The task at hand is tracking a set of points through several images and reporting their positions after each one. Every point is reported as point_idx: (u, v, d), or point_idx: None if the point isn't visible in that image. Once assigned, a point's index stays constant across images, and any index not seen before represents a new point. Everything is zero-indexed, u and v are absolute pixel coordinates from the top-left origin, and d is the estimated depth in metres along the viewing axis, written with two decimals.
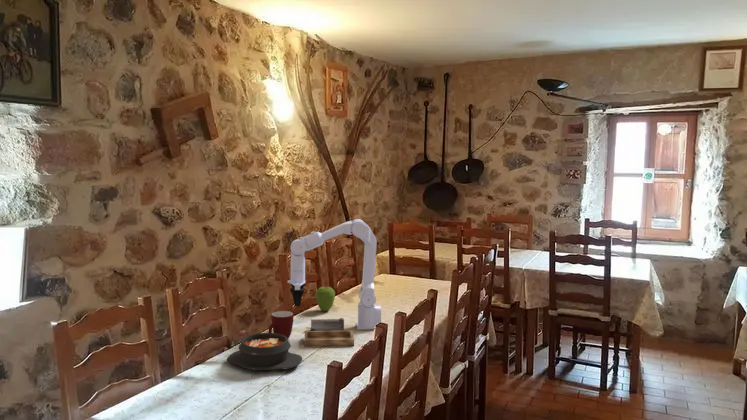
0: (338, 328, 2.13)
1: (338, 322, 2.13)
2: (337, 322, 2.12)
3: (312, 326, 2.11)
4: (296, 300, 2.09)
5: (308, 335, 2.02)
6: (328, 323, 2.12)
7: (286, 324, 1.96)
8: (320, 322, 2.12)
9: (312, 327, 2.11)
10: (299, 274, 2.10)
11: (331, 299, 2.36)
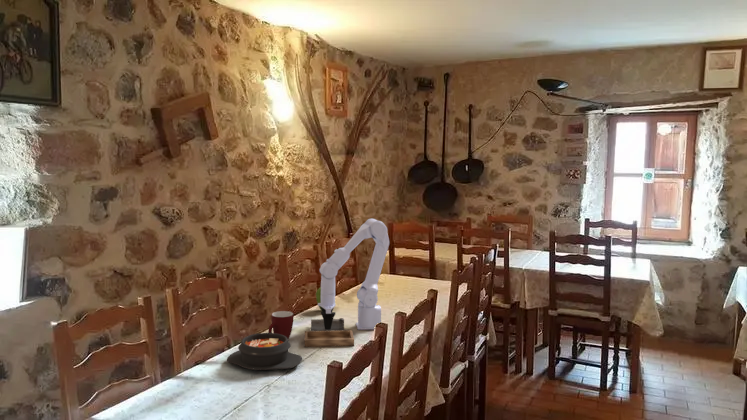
0: (338, 328, 2.13)
1: (338, 322, 2.13)
2: (337, 322, 2.12)
3: (312, 326, 2.11)
4: (327, 323, 2.09)
5: (308, 335, 2.02)
6: None
7: (286, 324, 1.96)
8: (320, 322, 2.12)
9: (312, 327, 2.11)
10: (330, 297, 2.09)
11: None
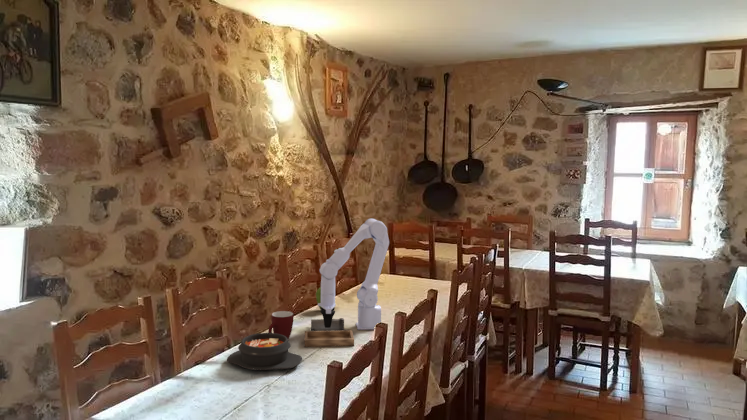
0: (338, 328, 2.13)
1: (338, 322, 2.13)
2: (337, 322, 2.12)
3: (312, 326, 2.11)
4: (326, 322, 2.11)
5: (308, 335, 2.02)
6: None
7: (286, 324, 1.96)
8: (320, 322, 2.12)
9: (312, 327, 2.11)
10: (330, 298, 2.09)
11: None
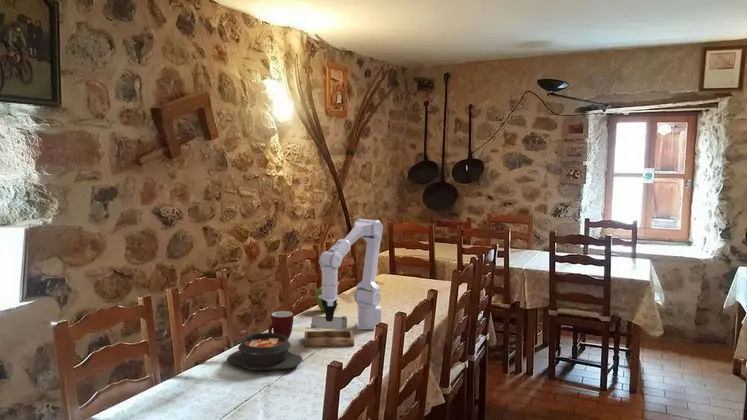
0: (340, 327, 1.98)
1: (341, 320, 1.98)
2: (340, 320, 1.98)
3: (313, 323, 1.97)
4: (328, 315, 1.97)
5: (308, 335, 2.02)
6: (330, 321, 1.98)
7: (286, 324, 1.96)
8: (321, 319, 1.97)
9: (313, 324, 1.97)
10: (331, 289, 1.95)
11: None
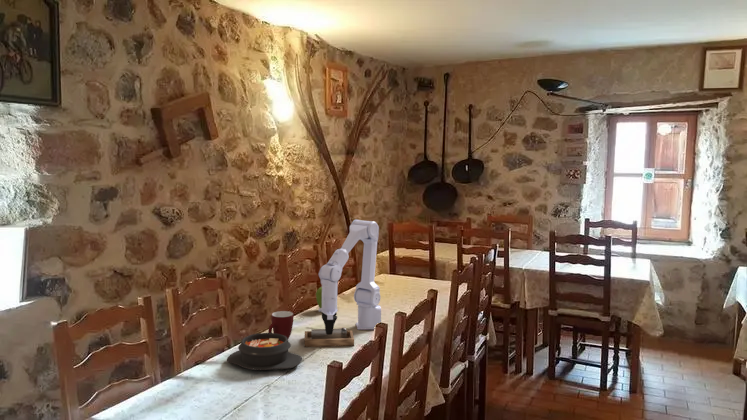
0: (340, 338, 1.99)
1: (340, 332, 1.99)
2: (339, 332, 1.99)
3: (312, 336, 1.97)
4: (328, 328, 1.97)
5: (308, 335, 2.02)
6: None
7: (286, 324, 1.96)
8: (321, 332, 1.98)
9: (312, 337, 1.98)
10: (331, 302, 1.95)
11: None
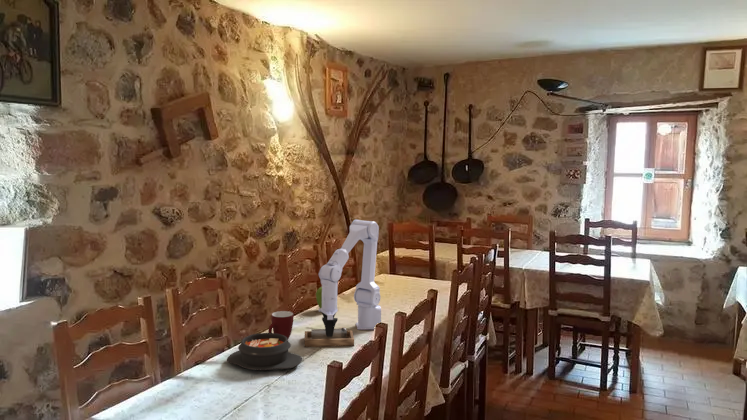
0: (340, 338, 1.99)
1: (340, 332, 1.99)
2: (339, 332, 1.99)
3: (312, 336, 1.97)
4: (328, 330, 1.95)
5: (308, 335, 2.02)
6: None
7: (286, 324, 1.96)
8: (321, 332, 1.98)
9: (312, 337, 1.98)
10: (331, 302, 1.95)
11: None
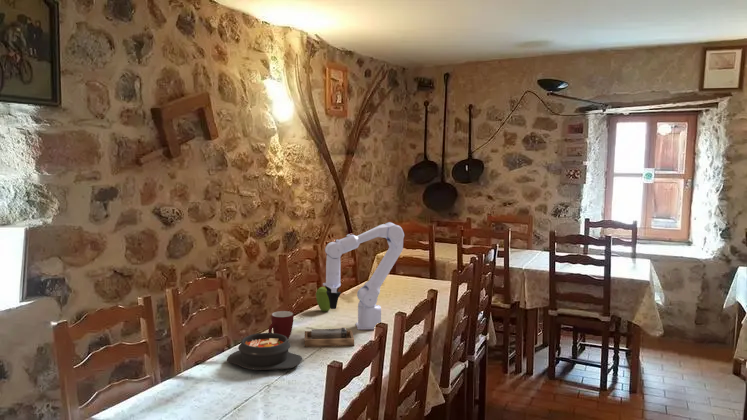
0: (340, 338, 1.99)
1: (340, 332, 1.99)
2: (339, 332, 1.99)
3: (312, 336, 1.97)
4: (332, 303, 2.09)
5: (308, 335, 2.02)
6: (330, 333, 1.98)
7: (286, 324, 1.96)
8: (321, 332, 1.98)
9: (312, 337, 1.98)
10: (335, 277, 2.10)
11: None
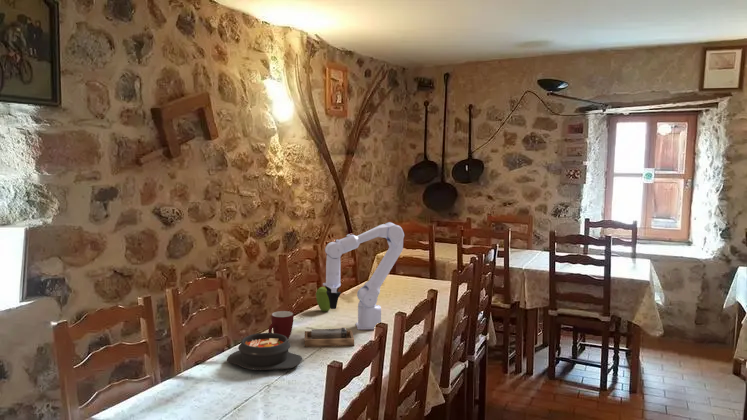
0: (340, 338, 1.99)
1: (340, 332, 1.99)
2: (339, 332, 1.99)
3: (312, 336, 1.97)
4: (332, 303, 2.09)
5: (308, 335, 2.02)
6: (330, 333, 1.98)
7: (286, 324, 1.96)
8: (321, 332, 1.98)
9: (312, 337, 1.98)
10: (335, 277, 2.10)
11: None
